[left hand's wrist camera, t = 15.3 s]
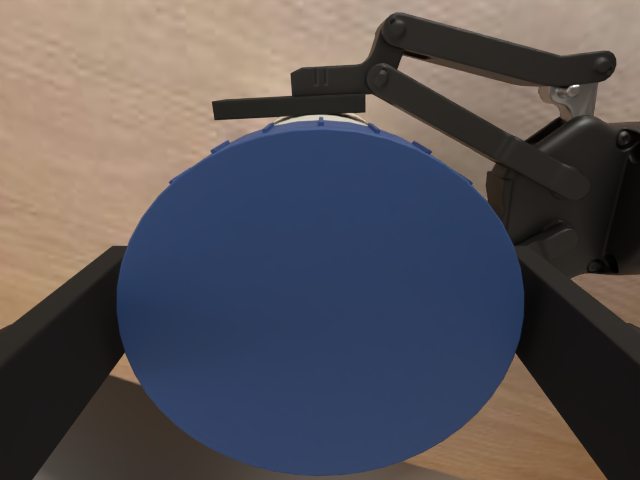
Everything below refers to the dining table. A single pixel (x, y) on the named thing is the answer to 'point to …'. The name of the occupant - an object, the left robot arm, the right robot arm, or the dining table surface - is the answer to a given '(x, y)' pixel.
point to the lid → (320, 299)
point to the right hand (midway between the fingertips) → (235, 218)
